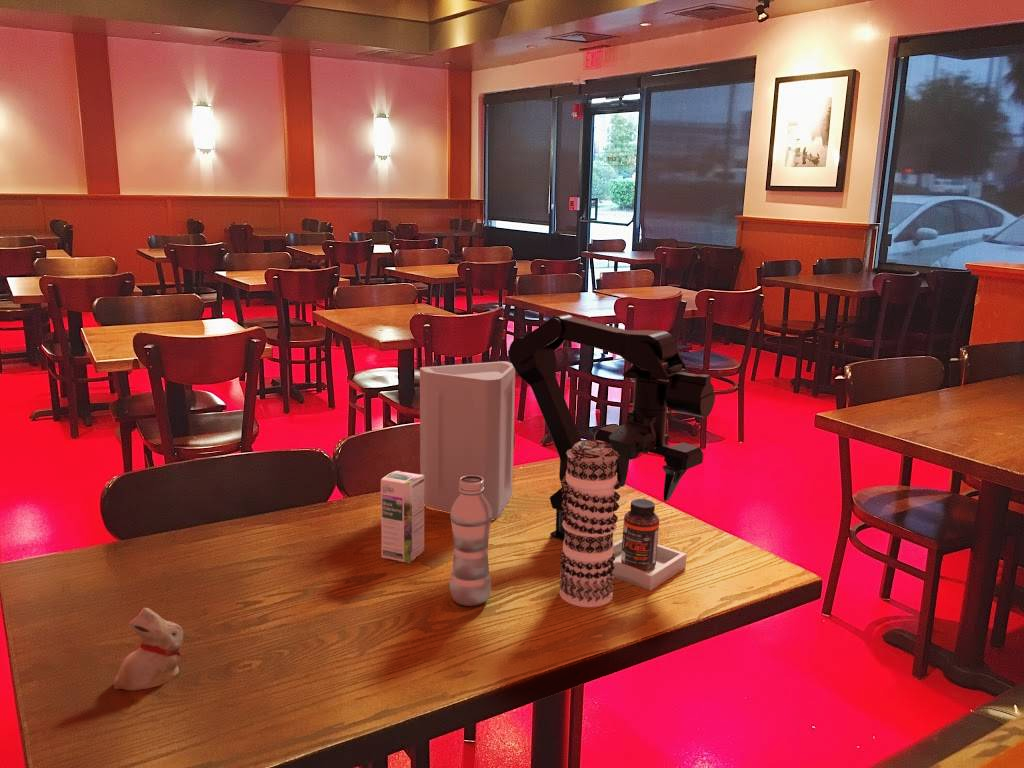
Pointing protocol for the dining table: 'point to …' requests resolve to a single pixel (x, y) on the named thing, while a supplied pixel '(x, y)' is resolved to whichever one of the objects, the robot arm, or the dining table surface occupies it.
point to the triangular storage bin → (467, 431)
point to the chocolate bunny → (151, 653)
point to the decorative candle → (589, 523)
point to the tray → (663, 570)
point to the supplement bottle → (640, 535)
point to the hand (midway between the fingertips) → (643, 493)
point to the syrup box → (402, 516)
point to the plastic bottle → (470, 543)
